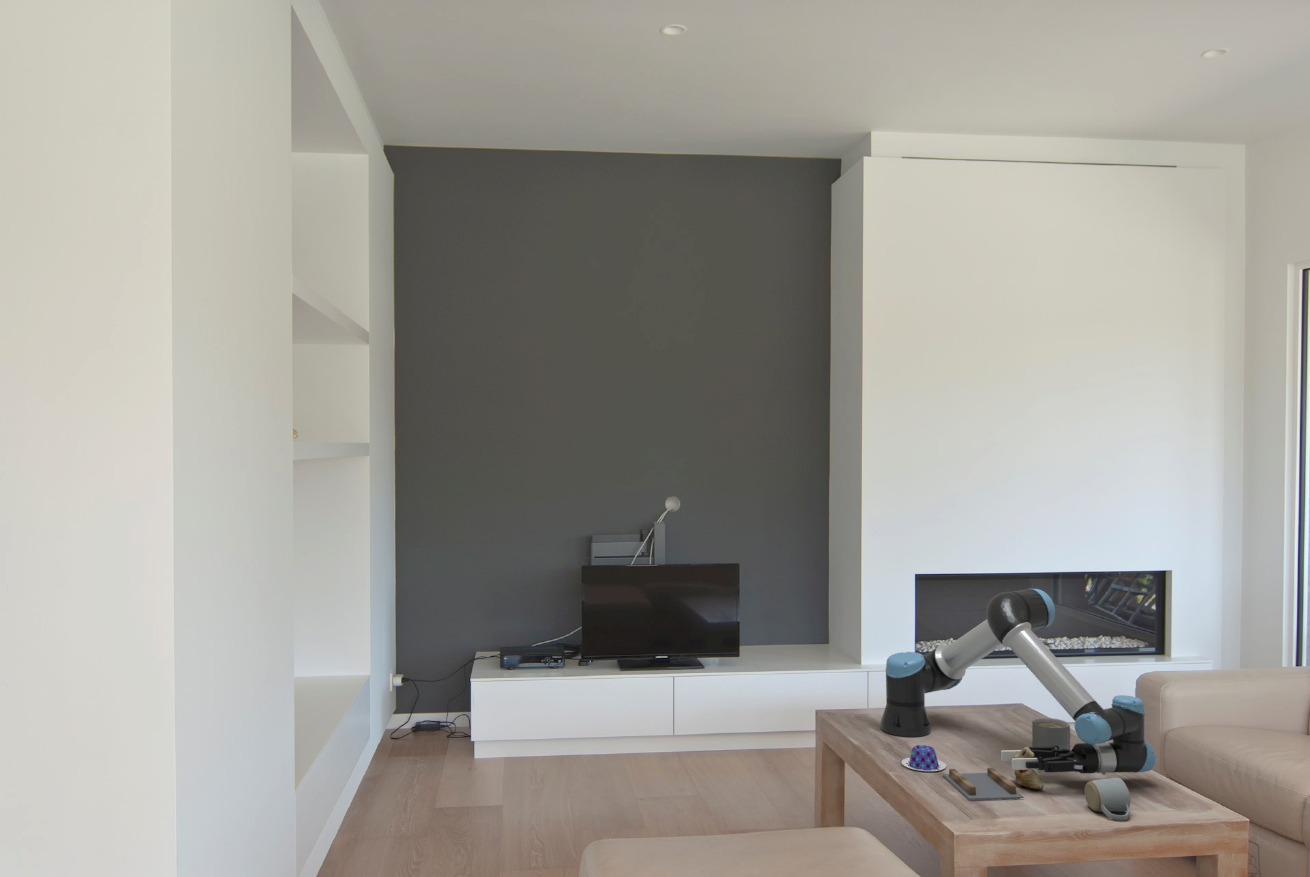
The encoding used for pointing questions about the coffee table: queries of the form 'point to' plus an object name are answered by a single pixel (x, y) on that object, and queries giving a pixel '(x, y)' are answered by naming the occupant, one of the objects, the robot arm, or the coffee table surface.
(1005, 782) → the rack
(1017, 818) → the coffee table surface
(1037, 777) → the chocolate bunny
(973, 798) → the mat
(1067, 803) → the coffee table surface
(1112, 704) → the robot arm
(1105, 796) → the ceramic mug
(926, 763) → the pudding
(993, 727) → the coffee table surface
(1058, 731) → the coffee mug
